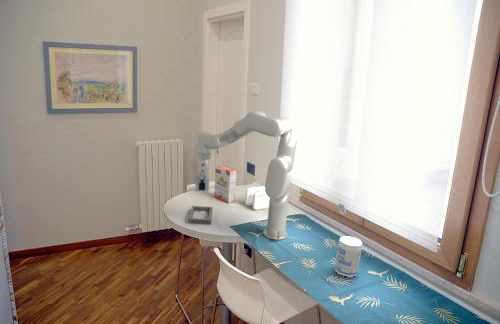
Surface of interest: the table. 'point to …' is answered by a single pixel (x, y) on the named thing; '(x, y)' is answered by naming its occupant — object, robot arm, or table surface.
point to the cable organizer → (257, 198)
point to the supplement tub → (348, 256)
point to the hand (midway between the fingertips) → (202, 187)
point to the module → (205, 183)
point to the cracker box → (225, 184)
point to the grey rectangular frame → (200, 221)
